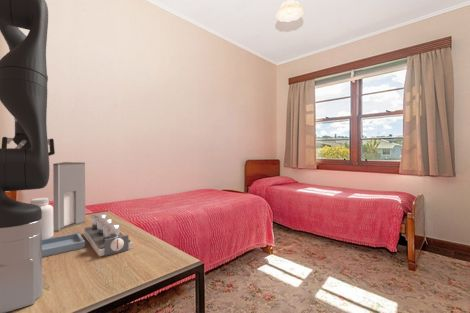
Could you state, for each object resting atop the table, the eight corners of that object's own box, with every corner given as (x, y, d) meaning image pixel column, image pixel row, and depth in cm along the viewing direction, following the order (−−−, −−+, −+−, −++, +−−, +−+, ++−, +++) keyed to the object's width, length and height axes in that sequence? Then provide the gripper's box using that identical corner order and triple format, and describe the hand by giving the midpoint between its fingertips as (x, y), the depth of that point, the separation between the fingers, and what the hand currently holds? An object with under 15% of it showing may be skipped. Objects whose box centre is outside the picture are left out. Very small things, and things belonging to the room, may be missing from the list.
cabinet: (65, 219, 117) (64, 162, 117) (88, 217, 121) (87, 161, 121) (53, 232, 98) (53, 163, 98) (81, 229, 102) (81, 163, 102)
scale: (133, 249, 80) (133, 234, 80) (100, 257, 74) (100, 241, 74) (110, 228, 102) (110, 217, 102) (82, 233, 96) (82, 221, 96)
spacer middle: (114, 233, 89) (113, 219, 89) (98, 236, 86) (98, 222, 86) (110, 230, 93) (110, 217, 93) (95, 232, 90) (95, 219, 90)
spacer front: (121, 239, 82) (121, 225, 82) (105, 243, 79) (105, 228, 79) (117, 236, 86) (117, 222, 86) (101, 239, 83) (101, 224, 83)
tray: (85, 247, 82) (85, 241, 82) (39, 257, 74) (39, 250, 74) (79, 238, 91) (79, 232, 91) (38, 246, 83) (38, 240, 83)
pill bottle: (22, 239, 89) (21, 199, 89) (47, 233, 96) (46, 196, 96) (32, 243, 86) (32, 201, 85) (57, 236, 93) (57, 197, 93)
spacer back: (107, 227, 96) (107, 215, 96) (93, 230, 93) (93, 217, 93) (104, 224, 100) (104, 212, 100) (90, 227, 96) (90, 214, 96)
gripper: (0, 118, 77) (0, 168, 77) (55, 122, 87) (55, 166, 87) (1, 120, 83) (1, 167, 83) (53, 124, 93) (53, 166, 93)
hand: (29, 167), depth 85 cm, fingers open, 8 cm apart
